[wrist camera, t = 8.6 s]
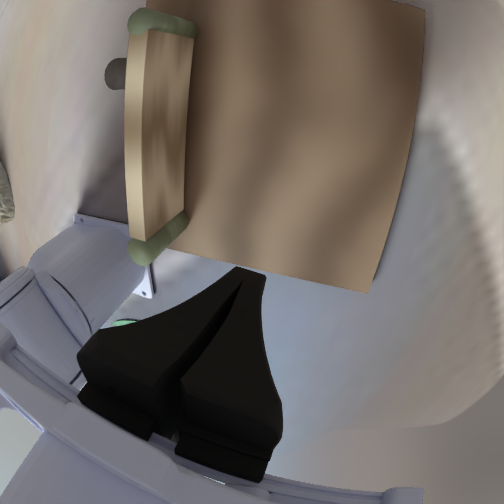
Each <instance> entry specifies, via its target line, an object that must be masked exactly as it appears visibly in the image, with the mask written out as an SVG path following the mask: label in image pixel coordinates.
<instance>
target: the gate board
mask: <svg viewBox="0 0 504 504" xmlns="http://www.w3.org/2000/svg"><path fill="white" fill-rule="evenodd" d="M146 8H148V9H152V10H155V11H159V12H163V13H166V14H169V15H173V16H176V17H179V18H182V19H185V20H188V21H191V22H194V23H195V24H196V25H197V27H198V34H197V36H196V38H195V39H194V45H193V54H192V64H191V74H190V85H189V97H188V110H187V126H186V144H185V168H184V209H183V210H182V211H183V212H184V213H185V214H186V216H187V218H188V226H187V228H186V229H185V230H184V231H183V232H182V233H181V234H180V235H179V236H178V237H177V238H176V239H175V240H174V241H173V242H172V243H171V244H170V245H169V246H168V247H167V248H168V249H172V250H177V251H181V252H185V253H189V254H193V255H198V256H202V257H206V258H211V259H215V260H219V261H223V262H228V263H232V264H236V265H241V266H245V267H250V268H254V269H258V270H263V271H267V272H272V273H276V274H281V275H285V276H290V277H294V278H299V279H303V280H308V281H312V282H317V283H321V284H326V285H331V286H335V287H340V288H344V289H349V290H354V291H359V292H363V293H368V292H369V289H370V286H371V284H372V281H373V278H374V275H375V272H376V269H377V266H378V263H379V260H380V257H381V254H382V251H383V248H384V245H385V242H386V239H387V235H388V232H389V229H390V225H391V222H392V218H393V215H394V211H395V208H396V204H397V200H398V196H399V193H400V189H401V185H402V180H403V176H404V172H405V168H406V163H407V158H408V154H409V149H410V144H411V139H412V133H413V128H414V122H415V116H416V110H417V103H418V96H419V89H420V81H421V72H422V61H423V49H424V33H425V10H423V9H420V8H417V7H413V6H410V5H407V4H403V3H399V2H395V1H391V0H147V2H146ZM126 65H127V58H117V59H114V60H112V61H111V62H110V63H109V64H108V66H107V68H106V70H105V82H106V84H107V86H108V87H109V88H110V89H112V90H119V89H125V81H126Z"/></svg>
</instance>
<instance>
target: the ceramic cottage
mask: <svg viewBox="0 0 504 504" xmlns="http://www.w3.org/2000/svg"><path fill="white" fill-rule="evenodd" d="M14 209H15V207H14V200H13V195H12V191H11V187H10V183H9V180H8V177H7V172H6V170H5V168H4V166H3V164H2V163H1V161H0V225H1V224H4V223H6V222H9V221H11V220H12V219H13V218H14V213H15V211H14Z"/></svg>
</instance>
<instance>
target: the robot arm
mask: <svg viewBox="0 0 504 504" xmlns="http://www.w3.org/2000/svg"><path fill="white" fill-rule="evenodd" d="M73 220H74V224H73V225H72V226H70V227H69V228H67V229H66V230H64V231H63V232H61V233H60V234H58V235H57V236H56V237H54V238H53V239H51V240H50V241H48V242H47V243H46V244H44V245H43V246H42V247H40V248H39V249H38V250H37V251H36V252H35V253H34V254H33V256H32V257H31V259H30V261H29V263H28V266H27V267H24V266H22V267H21V268H19V269H17V270H16V271H15V272H13V273H12V274H10V275H9V276H8V277H6V278H5V279H4V280H3V281H1V282H0V410H2V409H10V410H14V411H18V412H19V413H20V414H21V415H22V416H23V417H25V418H26V419H27V420H28V421H29V422H30V423H31V424H32V425H33V426H34V427H35V428H37V429H38V430H39V431H40V432H41V433H42V435H41V437H40V438H39V440H38V441H37V442H36V444H35V445H34V447H33V448H32V450H31V451H30V452H29V454H28V455H27V457H26V458H25V460H24V461H23V463H22V464H21V466H20V467H19V469H18V470H17V472H16V473H15V475H14V476H13V478H12V479H11V481H10V482H9V484H8V485H7V487H6V489H5V490H4V492H3V494H2V495H1V497H0V504H423V495H424V488H423V487H394V488H390V489H388V490H386V491H385V492H371V491H359V490H350V489H341V488H334V487H327V486H321V485H314V484H309V483H304V482H299V481H294V480H290V479H285V478H281V477H277V476H272V475H269V474H265V471H266V468H267V465H268V462H269V461H270V459H271V456H272V452H273V449H274V448H275V447H276V445H277V444H278V443H279V441H280V440H281V437H282V432H283V413H282V402H281V400H280V397H279V395H278V392H277V390H276V387H275V384H274V381H273V378H272V375H271V371H270V367H269V364H268V360H267V356H266V351H265V345H264V339H263V331H262V317H261V303H262V295H263V291H264V286H265V282H266V276H265V275H263V274H260V273H257V272H254V271H250V270H247V269H244V268H241V267H237V266H236V267H234V268H233V269H232V270H230V271H229V272H228V273H227V274H225V275H224V276H223V277H222V278H220V279H219V280H217V281H216V282H215V283H213V284H212V285H210V286H209V287H208V288H206V289H205V290H203V291H202V292H200V293H198V294H197V295H195V296H193V297H192V298H190V299H188V300H187V301H185V302H183V303H181V304H179V305H177V306H175V307H173V308H171V309H169V310H167V311H164V312H162V313H159V314H157V315H154V316H152V317H149V318H146V319H143V320H140V321H136V322H133V323H129V324H125V325H120V326H115V327H110V328H104V329H100V328H101V327H102V325H103V324H104V323H105V322H106V321H107V320H108V319H109V318H110V316H111V315H112V314H113V313H114V312H115V311H116V310H117V309H118V307H119V306H120V305H121V304H122V303H123V302H124V301H125V300H126V299H127V298H128V297H129V295H130V294H131V293H135V294H138V295H141V296H144V297H147V298H150V299H151V298H152V297H153V296H154V291H153V285H152V279H151V273H150V266H149V265H148V266H140V265H138V264H136V263H135V262H134V261H133V260H132V259H131V258H130V256H129V254H128V252H127V243H128V242H129V241H130V240H131V239H132V237H130V231H129V225H128V224H124V223H119V222H114V221H110V220H105V219H100V218H96V217H91V216H87V215H82V214H75V215H74V216H73ZM86 381H87V383H86V384H85V382H86ZM84 384H85V386H84V387H83V388H82V390H81V391H79V389H80V388H81V387H82V386H83V385H84ZM202 475H203V476H202ZM204 476H206V477H209V478H211V479H214V480H217V481H220V482H223V483H226V484H225V485H223V484H221V483H218V482H216V481H213V480H211V479H209V478H206V477H204Z"/></svg>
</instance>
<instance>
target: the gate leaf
mask: <svg viewBox="0 0 504 504" xmlns="http://www.w3.org/2000/svg"><path fill="white" fill-rule="evenodd" d="M128 30H129V32H130V33H129V43H128V53H127V65H126V81H125V106H124V154H125V179H126V196H127V209H128V221H129V231H130V237H132V239H131V240H130V241H129V242H128V243H127V252H128V254H129V256H130V258H131V259H132V260H133V261H134V262H135V263H136V264H138V265H140V266H148V265H150V264H151V263H152V262H153V261H154V260H155V259H156V258H157V257H158V256H159V255H160V254H161V253H162V252H163V251H164V250H165V249H166V248H167V247H168V246H169V245H170V244H171V243H172V242H173V241H174V240H175V239H176V238H177V237H178V236H179V235H180V234H181V233H182V232H183V231H184V230H185V229H186V228H187V226H188V218H187V216H186V214H185V213H184V212H183V211H182V210H183V209H184V168H185V144H186V126H187V110H188V97H189V85H190V74H191V64H192V54H193V45H194V39H195V38H196V36H197V34H198V27H197V25H196V24H195V23H194V22H191V21H188V20H185V19H182V18H179V17H176V16H173V15H169V14H166V13H163V12H159V11H155V10H152V9H148V8H140V9H138V10H136V11H135V12H134V13H133V14H132V15H131V16H130V18H129V21H128Z"/></svg>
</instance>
